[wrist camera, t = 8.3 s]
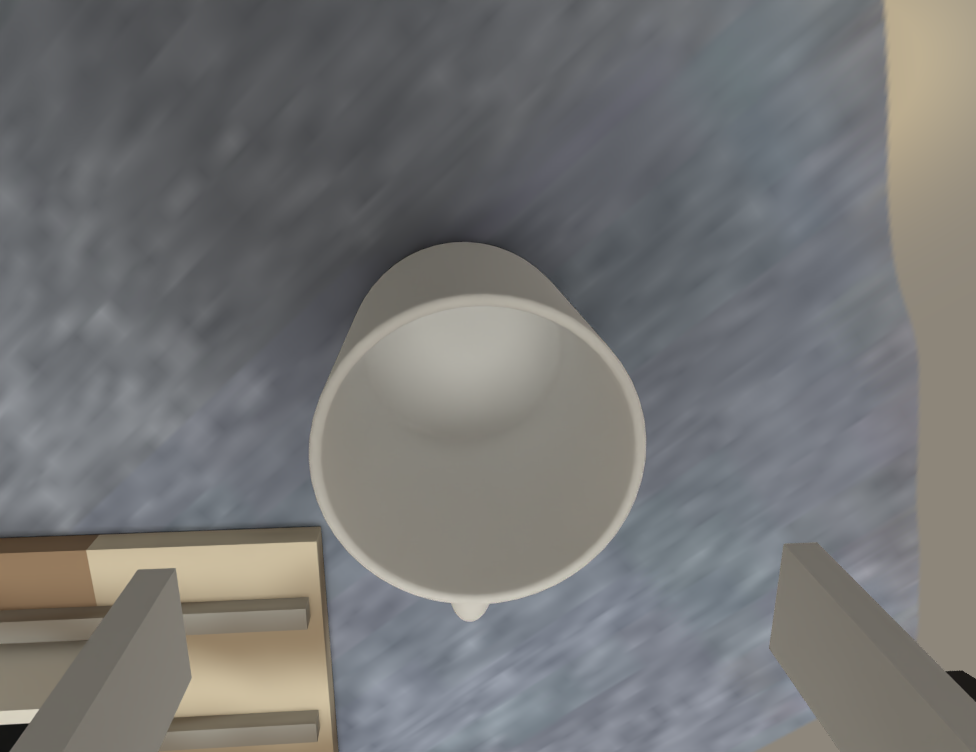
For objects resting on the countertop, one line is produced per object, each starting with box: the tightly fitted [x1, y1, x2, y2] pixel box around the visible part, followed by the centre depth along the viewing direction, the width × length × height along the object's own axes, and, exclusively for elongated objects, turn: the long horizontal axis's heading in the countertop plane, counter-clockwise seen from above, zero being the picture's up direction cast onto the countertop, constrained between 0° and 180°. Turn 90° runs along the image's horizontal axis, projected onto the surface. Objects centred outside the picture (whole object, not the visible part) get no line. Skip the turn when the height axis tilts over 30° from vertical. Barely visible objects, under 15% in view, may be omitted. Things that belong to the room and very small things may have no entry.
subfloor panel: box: [0, 527, 338, 752], centre depth 32 cm, size 20×16×2 cm
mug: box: [309, 242, 646, 621], centre depth 24 cm, size 9×12×11 cm
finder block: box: [0, 640, 88, 725], centre depth 28 cm, size 4×6×4 cm, turn 90°
